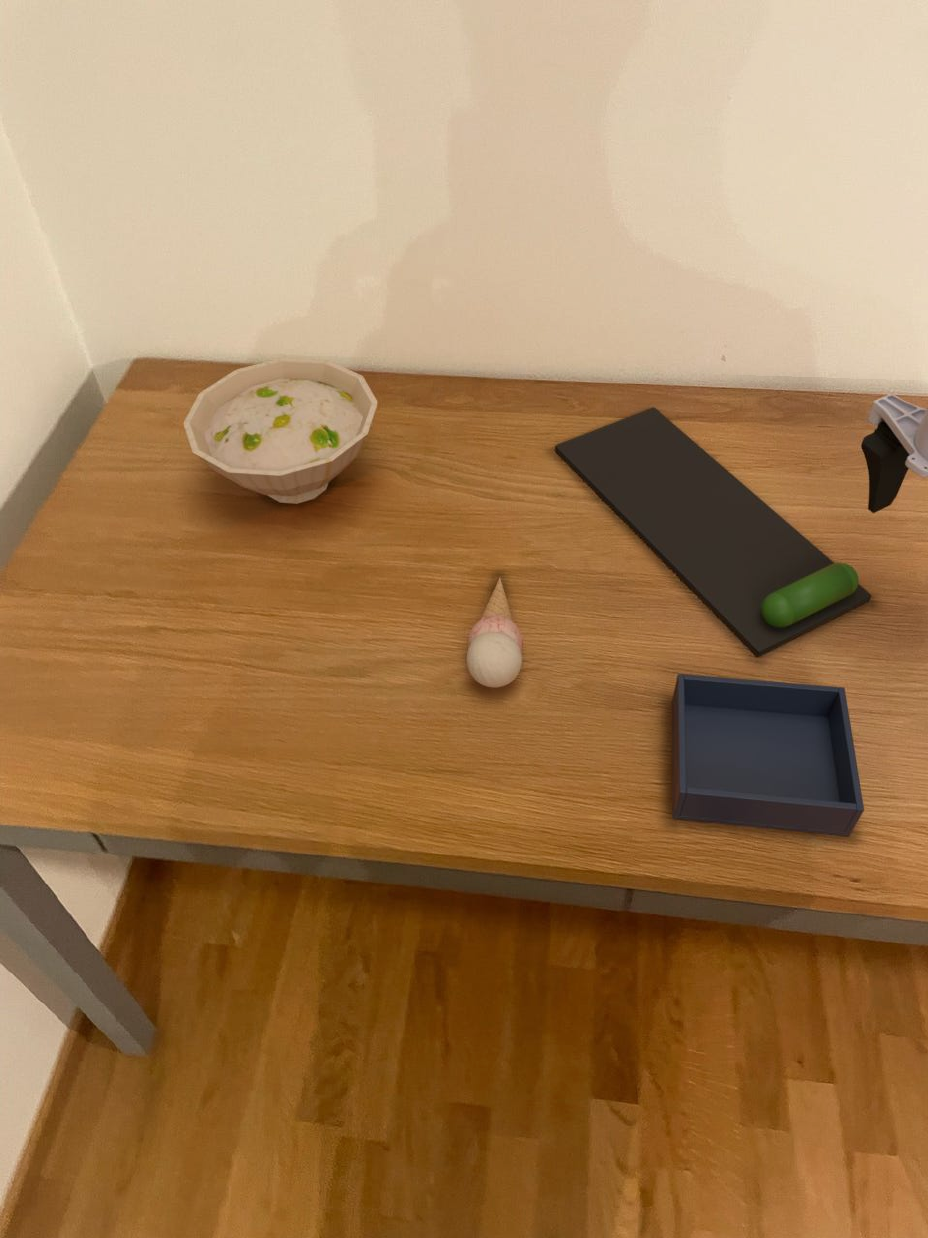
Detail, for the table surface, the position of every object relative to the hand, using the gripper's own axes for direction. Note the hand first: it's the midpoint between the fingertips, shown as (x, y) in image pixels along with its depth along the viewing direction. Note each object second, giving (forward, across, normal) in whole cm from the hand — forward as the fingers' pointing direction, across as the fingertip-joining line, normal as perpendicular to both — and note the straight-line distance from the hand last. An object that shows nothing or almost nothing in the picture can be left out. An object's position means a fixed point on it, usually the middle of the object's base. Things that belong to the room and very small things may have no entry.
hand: (913, 534), depth 76 cm
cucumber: (+7, -3, -6) cm, 10 cm away
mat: (+10, -18, -6) cm, 21 cm away
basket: (+9, +7, -20) cm, 24 cm away
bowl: (+10, -44, -39) cm, 60 cm away
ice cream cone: (+10, -14, -31) cm, 35 cm away
